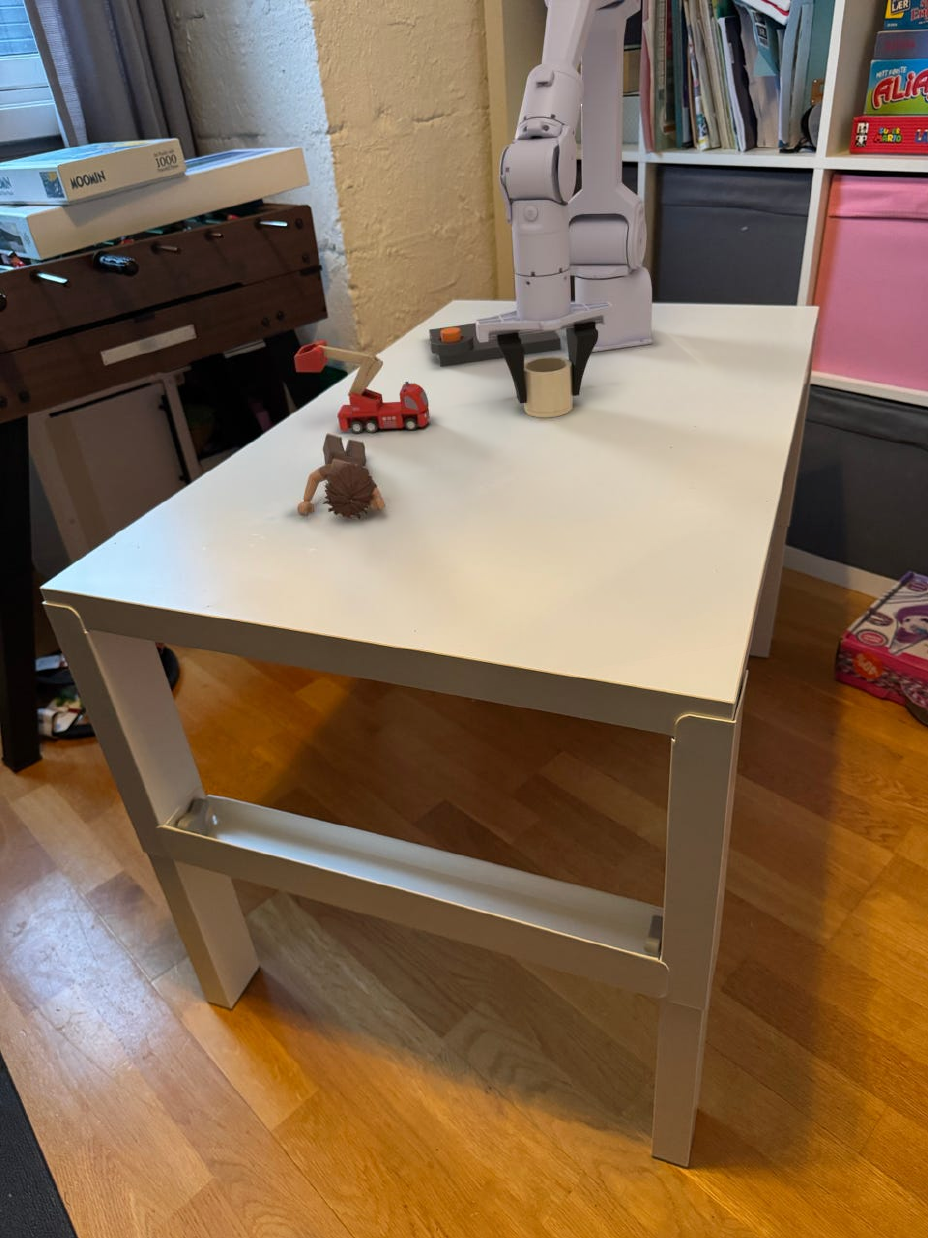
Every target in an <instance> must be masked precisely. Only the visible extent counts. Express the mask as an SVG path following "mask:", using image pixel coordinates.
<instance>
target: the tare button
mask: <svg viewBox="0 0 928 1238" xmlns="http://www.w3.org/2000/svg"><path fill="white" fill-rule="evenodd" d="M449 327H450V328H445V329H443V330H441V341H442V342H454V341H458V340H461V330H460V328H456V327H451V326H449Z"/></svg>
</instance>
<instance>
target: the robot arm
mask: <svg viewBox="0 0 928 1238" xmlns="http://www.w3.org/2000/svg"><path fill="white" fill-rule="evenodd" d="M641 1H642V0H544V4H545V6H546V8H547V12H546V13H547V14H546V21H545V30H544V31H545V32H544V40H543V48H542V58H541V63H540V64H539V65H536V66H535V67H534V68H532V70H531V71H530V72H529V73H528V76H527V79H526V84H525V89H524V92H523V97H522V102H521V108H520V113H519V116H518V122H517V126H516V130H515V135H514V139H513V140H512V141H511V143H510V144H509V145H507V146H504V148H503V149H502V152H501V155H500V158H499V166H498V167H499V168H498V175H499V176H498V185H499V190H500V195H501V198H502V201H503V203H504V208H505V220H506V221H507V222H506V223H507V224H508V225H510V226H511V238H512V239H511V240H512V250H513V251H512V254H513V269H514V270H513V271H514V286H515V287H514V288H515V303H516V304H515V305H516V310H513V311H509V312H505V313H501V314H498V315H493V316H489V317H484V318H478V319H475V320H474V321H475V322H474V323H476V333H477V339H478V341H479V342H480V343H482V342H488V341H489V339H495V341H496V343H497V345H498V346H499V348H500V350H501V352H502V354H503V356H504V358H503V359H504V360H505V361H504V362H505V363H506V365H507V367H508V370H509V372H510V375H511V378H512V382H513V385H514V389H515V395H516V399H517V401H518V402H519V404H522V405H523V404H524V403H526V387H525V379H524V363H525V355H524V347H523V346H522V344H521V339H520V338H519V335H525V334H532V333H539V332H546V331H553V330H554V331H560V330H565V334H566V342H567V344H566V345H567V353H568V356H567V357H568V360H570V361H571V363H572V382H573V397H575V396H576V397H577V396H579V395H580V392H581V386H582V381H583V377H584V373H585V371H586V370H585V369H586V367H587V364H588V361H589V359H590V357H591V354H592V353H596V352H603V351H610V350H617V349H624V348H632V347H638V346H639V347H640V346H645V345H652V344H653V343H654V340H653V339H652V322H653V321H652V318H653V317H652V316H653V315H652V313H653V287H652V280H651V275H650V273H649V270H648V269H647V268H646V267H645V266H640V265H641V264H642V263H643V261H644V259H645V255H646V249H647V237H648V235H647V233H648V232H647V231H648V229H647V223H646V214H645V213H646V211H645V209H646V207H645V204H644V201H643V199H642V198H641V197H640V196H639V195H638V194H636V193H635V192H634V191H633V190H631V189H630V188H628V186H626V185H625V184H624V183H623V121H624V120H623V119H624V118H623V116H624V114H623V113H624V110H623V109H624V107H623V105H624V44H625V34H626V26H627V19H629V18H631V17H632V16H634V15H635V14H637V13H638V12H639V11H640V10H641V3H642V2H641ZM579 66H580V73H579V72H578V70H579ZM580 114H581V115H580ZM580 117H581V118H580ZM579 119H581V120H580V121H581V122H580V123H581V125H580V126H581V127H580V128H581V129H580V130H581V131H580V132H581V189H580V190H578V191H577V192H576V193H575V192H574V191H575V187H576V181H577V157H578V144H577V140H576V133H577V128H578V124H579ZM574 193H575V194H574ZM571 276H572V277H573V276H574V294H575V295H574V302H575V303H572V296H571V295H572V294H571V293H572V292H571V291H572V290H571V287H572V286H571Z"/></svg>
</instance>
